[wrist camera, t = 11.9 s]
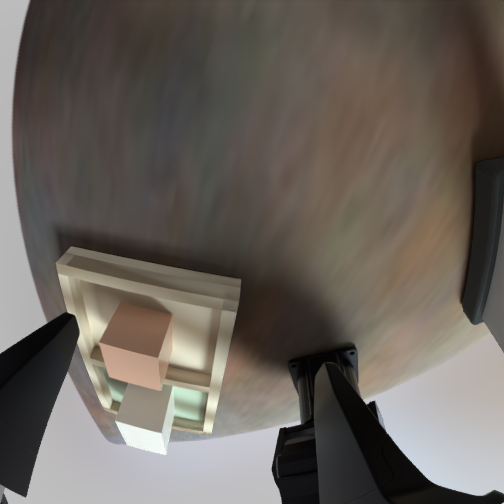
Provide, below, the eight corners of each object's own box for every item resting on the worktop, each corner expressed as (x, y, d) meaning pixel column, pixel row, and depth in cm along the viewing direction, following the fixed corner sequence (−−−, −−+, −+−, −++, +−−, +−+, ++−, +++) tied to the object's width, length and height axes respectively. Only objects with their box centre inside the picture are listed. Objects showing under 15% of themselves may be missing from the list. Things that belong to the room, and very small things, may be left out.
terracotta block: (172, 349, 24) (161, 391, 20) (125, 338, 24) (109, 377, 20) (172, 314, 22) (158, 357, 18) (120, 302, 22) (98, 342, 18)
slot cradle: (212, 419, 33) (210, 435, 31) (109, 395, 32) (104, 410, 30) (241, 279, 21) (239, 301, 19) (71, 246, 20) (55, 262, 18)
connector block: (173, 382, 27) (161, 433, 21) (174, 412, 30) (166, 455, 25) (131, 372, 26) (115, 420, 21) (139, 403, 30) (127, 445, 25)
